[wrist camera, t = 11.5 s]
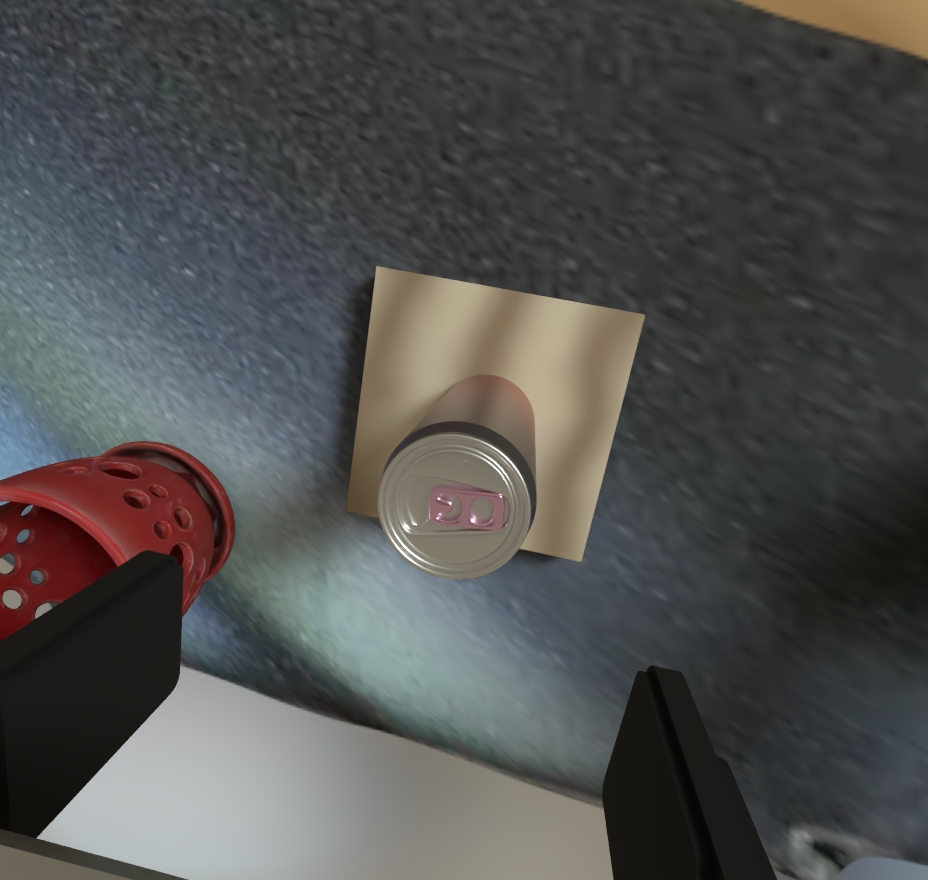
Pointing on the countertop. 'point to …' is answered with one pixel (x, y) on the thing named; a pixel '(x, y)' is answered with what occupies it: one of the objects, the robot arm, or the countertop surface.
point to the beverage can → (463, 481)
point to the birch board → (505, 355)
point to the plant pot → (110, 523)
